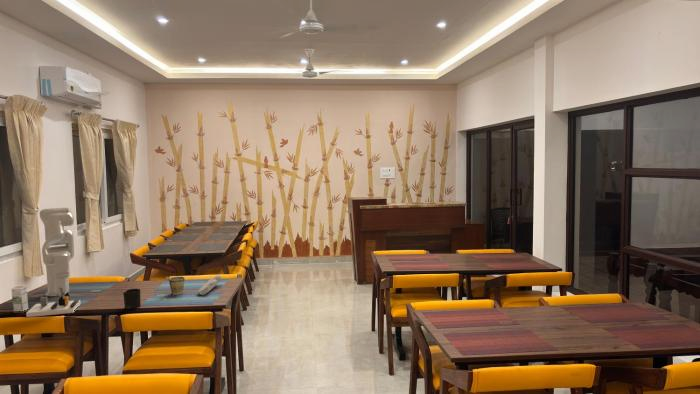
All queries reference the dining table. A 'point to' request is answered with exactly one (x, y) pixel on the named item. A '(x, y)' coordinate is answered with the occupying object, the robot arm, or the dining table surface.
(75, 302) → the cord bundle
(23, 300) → the syrup box
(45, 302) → the on breaker
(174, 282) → the ceramic cup
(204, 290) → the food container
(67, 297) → the breaker
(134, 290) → the pen holder
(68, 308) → the breaker panel
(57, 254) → the robot arm
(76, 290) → the dining table surface
